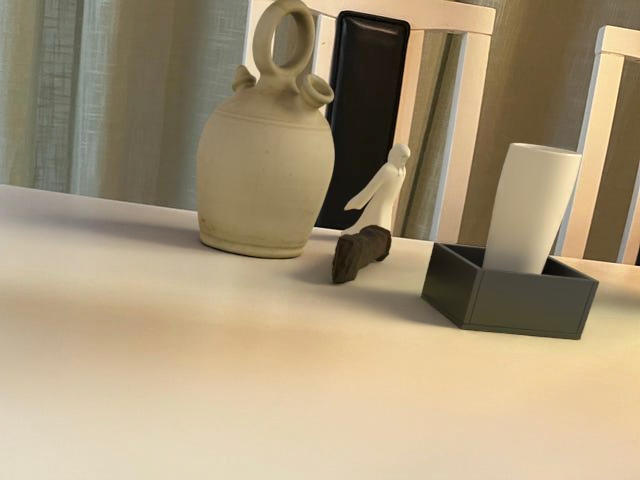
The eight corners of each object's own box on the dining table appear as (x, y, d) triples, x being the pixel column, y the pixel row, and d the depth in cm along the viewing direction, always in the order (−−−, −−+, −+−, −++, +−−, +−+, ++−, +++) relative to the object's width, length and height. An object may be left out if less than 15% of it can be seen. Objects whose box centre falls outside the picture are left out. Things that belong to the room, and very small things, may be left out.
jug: (339, 265, 115) (391, 9, 102) (216, 259, 110) (254, -12, 96) (281, 236, 127) (321, 3, 114) (167, 229, 121) (195, -16, 108)
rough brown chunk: (355, 256, 121) (363, 215, 118) (387, 262, 120) (396, 221, 117) (307, 281, 106) (316, 235, 103) (344, 289, 105) (353, 242, 102)
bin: (528, 307, 107) (544, 253, 104) (580, 339, 97) (600, 281, 94) (420, 296, 106) (433, 241, 103) (461, 329, 95) (478, 269, 92)
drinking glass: (507, 304, 105) (553, 146, 97) (547, 322, 100) (599, 157, 92) (452, 302, 103) (494, 140, 95) (490, 320, 97) (538, 151, 89)
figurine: (369, 250, 125) (392, 144, 119) (321, 236, 130) (341, 133, 124) (405, 247, 130) (429, 145, 124) (358, 234, 135) (378, 135, 128)
